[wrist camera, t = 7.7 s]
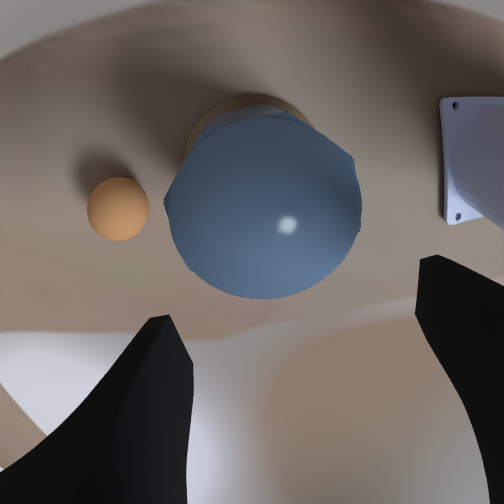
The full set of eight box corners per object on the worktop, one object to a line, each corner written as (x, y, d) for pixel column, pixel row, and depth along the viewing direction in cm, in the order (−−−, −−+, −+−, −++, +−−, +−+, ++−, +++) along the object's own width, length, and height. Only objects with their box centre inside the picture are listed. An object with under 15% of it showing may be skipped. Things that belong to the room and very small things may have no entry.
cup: (299, 96, 14) (348, 102, 8) (319, 205, 17) (366, 276, 11) (181, 124, 14) (142, 149, 8) (212, 229, 17) (202, 314, 11)
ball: (144, 162, 16) (125, 178, 13) (163, 217, 17) (149, 243, 14) (92, 180, 16) (67, 200, 13) (113, 231, 17) (93, 259, 14)
